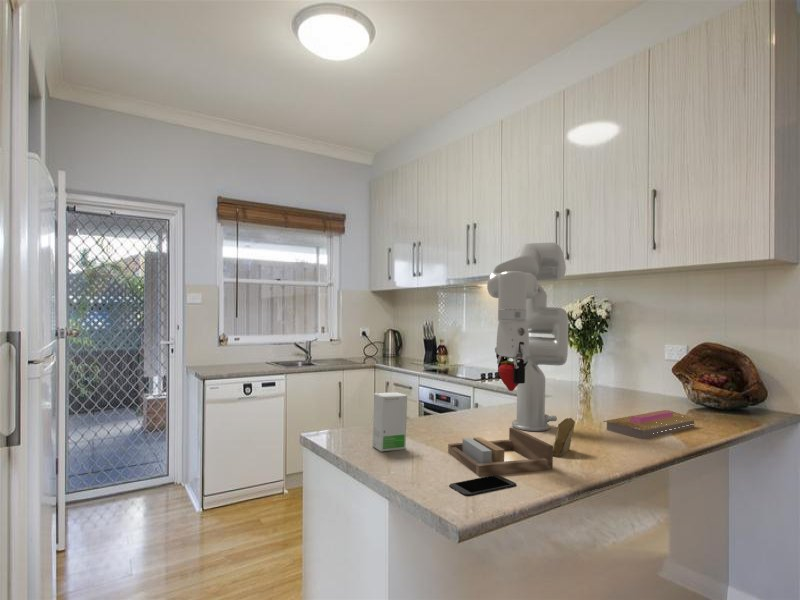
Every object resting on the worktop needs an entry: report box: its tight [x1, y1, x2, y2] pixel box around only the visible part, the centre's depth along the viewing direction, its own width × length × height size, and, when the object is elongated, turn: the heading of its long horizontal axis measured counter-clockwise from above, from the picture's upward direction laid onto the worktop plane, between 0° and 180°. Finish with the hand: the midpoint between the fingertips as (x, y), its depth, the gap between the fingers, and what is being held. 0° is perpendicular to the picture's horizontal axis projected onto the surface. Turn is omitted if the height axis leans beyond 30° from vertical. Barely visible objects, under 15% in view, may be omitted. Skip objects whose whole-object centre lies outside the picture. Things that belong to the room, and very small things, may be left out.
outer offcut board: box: [462, 437, 492, 464], centre depth 124 cm, size 2×12×5 cm, turn 17°
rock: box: [552, 417, 576, 458], centre depth 135 cm, size 11×9×10 cm
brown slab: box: [603, 409, 699, 440], centre depth 165 cm, size 35×14×6 cm, turn 122°
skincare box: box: [372, 391, 408, 453], centre depth 136 cm, size 8×7×16 cm
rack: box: [447, 426, 554, 477], centre depth 126 cm, size 21×19×6 cm
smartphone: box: [448, 474, 517, 497], centre depth 108 cm, size 7×15×1 cm, turn 119°
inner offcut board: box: [472, 436, 505, 463], centre depth 125 cm, size 2×12×5 cm, turn 19°
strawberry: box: [497, 360, 518, 392], centre depth 127 cm, size 6×8×10 cm
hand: (510, 380), depth 127 cm, fingers closed on strawberry, 7 cm apart
